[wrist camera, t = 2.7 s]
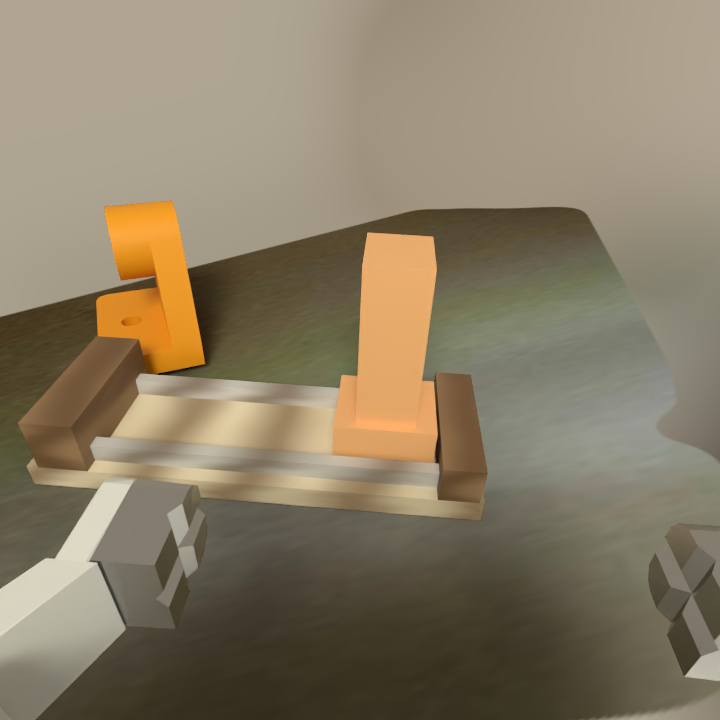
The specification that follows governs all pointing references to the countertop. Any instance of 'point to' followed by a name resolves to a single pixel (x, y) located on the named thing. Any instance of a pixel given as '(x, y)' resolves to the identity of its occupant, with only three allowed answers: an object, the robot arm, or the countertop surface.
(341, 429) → the slider
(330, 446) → the rail board
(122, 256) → the bracket
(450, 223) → the countertop surface
